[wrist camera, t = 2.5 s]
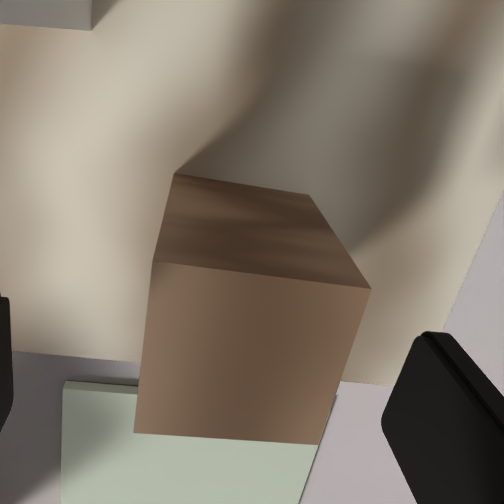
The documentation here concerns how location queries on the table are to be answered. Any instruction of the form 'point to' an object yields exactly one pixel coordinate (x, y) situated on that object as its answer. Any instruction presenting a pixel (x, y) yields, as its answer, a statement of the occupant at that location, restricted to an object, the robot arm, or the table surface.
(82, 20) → the pale grey block
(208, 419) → the walnut block
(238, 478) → the mat
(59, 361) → the table surface
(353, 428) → the table surface
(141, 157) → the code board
